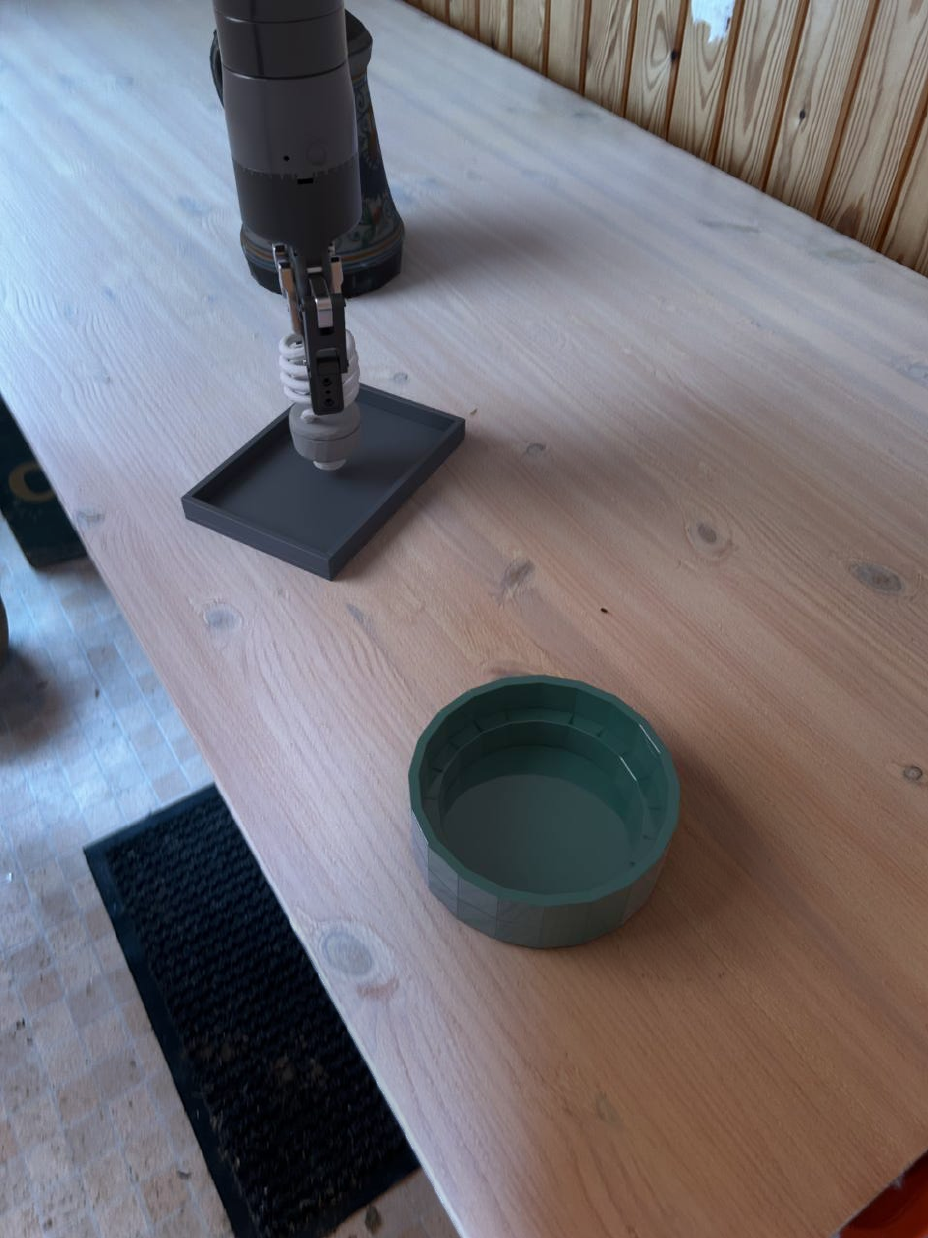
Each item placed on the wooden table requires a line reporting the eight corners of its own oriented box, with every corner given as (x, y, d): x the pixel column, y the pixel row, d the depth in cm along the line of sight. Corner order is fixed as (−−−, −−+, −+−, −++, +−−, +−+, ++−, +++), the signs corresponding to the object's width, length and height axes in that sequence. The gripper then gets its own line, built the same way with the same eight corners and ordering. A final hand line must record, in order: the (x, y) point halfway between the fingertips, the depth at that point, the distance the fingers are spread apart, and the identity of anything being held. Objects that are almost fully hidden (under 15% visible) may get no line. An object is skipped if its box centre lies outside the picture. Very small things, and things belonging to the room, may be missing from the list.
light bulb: (337, 501, 72) (323, 360, 63) (279, 476, 74) (256, 335, 65) (381, 462, 75) (372, 323, 67) (323, 438, 77) (308, 300, 69)
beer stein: (382, 311, 93) (366, 15, 74) (192, 289, 95) (131, -3, 77) (422, 234, 104) (416, -40, 85) (250, 216, 106) (209, -54, 88)
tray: (330, 581, 68) (328, 560, 66) (185, 518, 72) (179, 497, 70) (465, 439, 79) (465, 418, 78) (332, 392, 83) (330, 372, 82)
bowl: (601, 1000, 48) (613, 958, 44) (362, 870, 52) (355, 822, 49) (700, 789, 56) (717, 739, 53) (487, 693, 61) (489, 641, 57)
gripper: (218, 104, 61) (256, 342, 73) (244, 200, 52) (283, 454, 64) (335, 94, 62) (353, 329, 75) (381, 186, 53) (393, 437, 65)
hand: (320, 386), depth 69 cm, fingers closed on light bulb, 5 cm apart
